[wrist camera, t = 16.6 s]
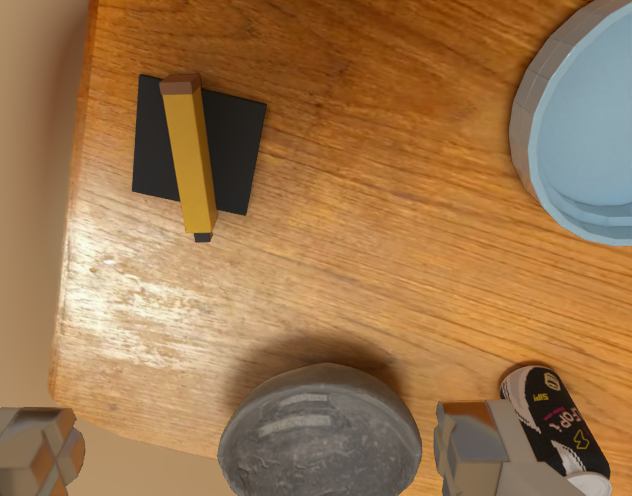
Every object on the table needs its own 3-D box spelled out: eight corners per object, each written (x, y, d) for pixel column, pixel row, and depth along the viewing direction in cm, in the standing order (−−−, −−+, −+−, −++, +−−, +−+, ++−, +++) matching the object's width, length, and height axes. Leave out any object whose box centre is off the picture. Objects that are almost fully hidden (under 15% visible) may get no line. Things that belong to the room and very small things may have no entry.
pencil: (169, 74, 36) (158, 82, 33) (199, 73, 35) (191, 81, 33) (194, 231, 42) (186, 248, 39) (220, 231, 41) (214, 247, 39)
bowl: (406, 320, 46) (422, 384, 39) (413, 452, 55) (426, 523, 48) (212, 338, 47) (193, 403, 40) (248, 464, 56) (237, 536, 49)
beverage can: (488, 373, 49) (533, 485, 39) (547, 351, 48) (610, 460, 37) (508, 411, 52) (556, 525, 41) (564, 391, 50) (629, 504, 40)
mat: (140, 73, 36) (138, 75, 36) (266, 103, 37) (266, 105, 36) (133, 189, 40) (131, 191, 40) (246, 213, 41) (245, 216, 41)
